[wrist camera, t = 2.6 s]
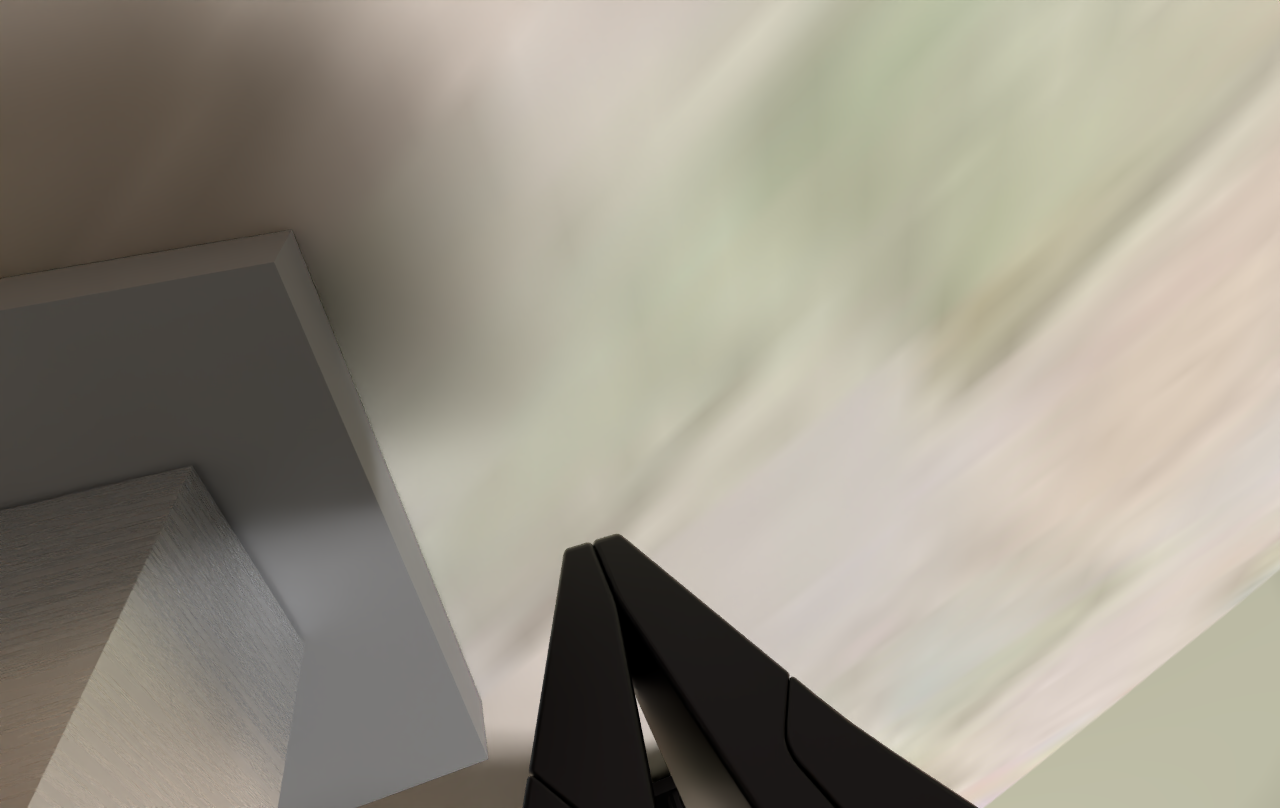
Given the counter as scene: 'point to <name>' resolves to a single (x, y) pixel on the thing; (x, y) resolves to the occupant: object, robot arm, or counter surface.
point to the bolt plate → (251, 483)
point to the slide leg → (139, 654)
